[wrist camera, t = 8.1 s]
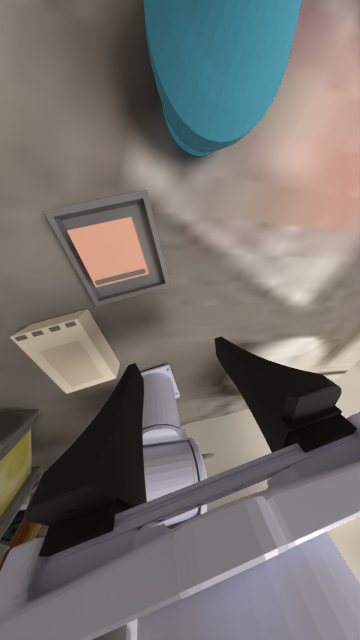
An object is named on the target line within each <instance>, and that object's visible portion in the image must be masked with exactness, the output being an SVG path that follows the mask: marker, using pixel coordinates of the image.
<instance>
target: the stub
mask: <svg viewBox="0 0 360 640" xmlns="http://www.w3.org/2000/svg"><path fill="white" fill-rule="evenodd" d="M67 232H68V234H69V236H70V238H71V240H72V242H73V244H74V246H75V248H76V250H77V252H78V254H79V256H80V258H81V259H82V261H83V263H84V265H85V267H86V269H87V271H88V273H89V275H90V277H91V279H92V281H93V283H94V285H95V287H99V286H103V285H107V284H111V283H115V282H119V281H123V280H127V279H131V278H135V277H139V276H143V275H147V274H149V269H148V265H147V262H146V259H145V256H144V252H143V249H142V246H141V242H140V239H139V236H138V232H137V229H136V226H135V224H134V222H133V220H132V218H131V217H127V218H123V219H118V220H113V221H109V222H104V223H99V224H95V225H90V226H86V227H81V228H76V229H72V230H67Z"/></svg>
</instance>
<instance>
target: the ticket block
mask: <svg viewBox="0 0 360 640" xmlns="http://www.w3.org/2000/svg"><path fill="white" fill-rule="evenodd" d="M10 338H11V339H12V340H13V341H14V342H15V343H16V344H17V345H18V346H19V347H20V348H21V349H22V350H23V351H24V352H25V353H26V354H27V355H28V356H29V357H30V358H31V359H32V360H33V361H34V362H35V363H36V364H37V365H38V366H39V367H40V368H41V369H42V370H43V371H44V372H45V373H46V374H47V375H48V376H49V377H50V378H51V379H52V380H53V381H54V382H55V383H56V384H57V385H58V386H59V387H60V388H61V389H62V390H63V391H64V392H65V393H66V394H68V393H71V392H74V391H77V390H81V389H84V388H87V387H90V386H93V385H96V384H100V383H103V382H106V381H109V380H112V379H116V377H117V373H118V369H119V365H120V363H119V361H118V359H117V358H116V356H115V354H114V353H113V351H112V349H111V348H110V346H109V344H108V343H107V341H106V339H105V337H104V336H103V334H102V332H101V331H100V329H99V327H98V326H97V324H96V322H95V320H94V319H93V317H92V315H91V314H90V312H89V310H88V309H86V310H82V311H78V312H74V313H71V314H67V315H63V316H60V317H56V318H52V319H48V320H45V321H41V322H37V323H34V324H31V325H29V326H27V327H26V328H24V329H22V330H21V331H19V332H18V333H16V334H14V335H13V336H11V337H10Z"/></svg>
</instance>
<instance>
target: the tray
mask: <svg viewBox="0 0 360 640" xmlns="http://www.w3.org/2000/svg"><path fill="white" fill-rule="evenodd" d="M43 212H44V213H45V215H46V217H47V219H48V221H49V222H50V224H51V226H52V228H53V230H54V231H55V233H56V235H57V237H58V239H59V241H60V242H61V244H62V246H63V248H64V250H65V251H66V253H67V255H68V257H69V259H70V260H71V262H72V264H73V266H74V268H75V269H76V271H77V273H78V275H79V277H80V278H81V280H82V282H83V284H84V286H85V288H86V289H87V291H88V293H89V295H90V297H91V298H92V300H93V302H94V304H95V306H96V307H97V306H101V305H104V304H108V303H112V302H115V301H119V300H123V299H127V298H130V297H134V296H138V295H141V294H145V293H149V292H153V291H156V290H160V289H164V288H167V287H171V285H170V281H169V277H168V273H167V269H166V265H165V261H164V257H163V253H162V249H161V245H160V241H159V237H158V233H157V229H156V225H155V221H154V217H153V213H152V209H151V205H150V201H149V197H148V193H147V190H143V191H138V192H133V193H128V194H124V195H119V196H114V197H109V198H104V199H99V200H95V201H90V202H85V203H80V204H75V205H70V206H66V207H61V208H56V209H51V210H46V211H43ZM127 217H131V218H132V220H133V222H134V224H135V226H136V229H137V232H138V236H139V239H140V242H141V246H142V249H143V252H144V256H145V259H146V262H147V265H148V269H149V274H147V275H143V276H139V277H135V278H131V279H127V280H123V281H119V282H115V283H111V284H107V285H103V286H99V287H95V285H94V283H93V281H92V279H91V277H90V275H89V273H88V271H87V269H86V267H85V265H84V263H83V261H82V259H81V258H80V256H79V254H78V252H77V250H76V248H75V246H74V244H73V242H72V240H71V238H70V236H69V234H68V232H67V230H72V229H76V228H81V227H86V226H90V225H95V224H99V223H104V222H109V221H113V220H118V219H123V218H127Z"/></svg>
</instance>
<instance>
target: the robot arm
mask: <svg viewBox="0 0 360 640" xmlns="http://www.w3.org/2000/svg"><path fill="white" fill-rule="evenodd" d="M215 346H216V355H217V357H218V359H219V361H220V363H221V365H222V366H223V368H224V369H225V371H226V372H227V374H228V375H229V377H230V378H231V379H232V381H233V382H234V384H235V385H236V387H237V388H238V390H239V391H240V393H241V395H242V396H243V398H244V400H245V402H246V403H247V405H248V407H249V409H250V411H251V412H252V414H253V416H254V418H255V420H256V422H257V424H258V426H259V428H260V429H261V431H262V433H263V435H264V437H265V439H266V441H267V443H268V445H269V447H270V449H271V451H272V453H270V454H268V455H265V456H263V457H260V458H258V459H255V460H252V461H250V462H247V463H245V464H242V465H240V466H237V467H235V468H232V469H230V470H227V471H225V472H222V473H220V474H217V475H214V476H212V477H209V478H207V475H206V470H205V465H204V461H203V457H202V454H201V451H200V449H199V447H198V445H197V444H196V443H195V441H194V440H193V439H192V438H187V435H186V430H185V429H181V425H180V420H179V414H178V409H177V403H176V398H178V397H180V394H179V391H178V388H177V386H176V383H175V380H174V377H173V374H172V371H171V369H170V366H169V365H168V364H166V365H163V366H160V367H156V368H153V369H150V370H147V371H144V372H141V373H140V371H139V369H138V367H137V365H136V363H134V364H131V365H128V367H127V369H126V371H125V372H124V374H123V376H122V378H121V380H120V381H119V383H118V385H117V386H116V388H115V390H114V391H113V393H112V395H111V396H110V398H109V399H108V401H107V402H106V404H105V405H104V407H103V408H102V409H101V411H100V412H99V413H98V415H97V416H96V417H95V419H94V420H93V421H92V422H91V423H90V425H89V426H88V427H87V428H86V430H85V431H84V432H83V433H82V434H81V435H80V437H79V438H78V439H77V440H76V441H75V442H74V443H73V444H72V445H71V446H70V447H69V449H68V450H67V451H66V452H65V453H64V454H63V455H62V456H61V457H60V458H59V459H58V460H57V461H56V462H55V463H54V464H53V465H52V466H51V467H50V468H49V469H48V470H47V471H46V472H45V473H44V474H43V475H42V477H41V479H40V482H39V484H38V486H37V488H36V490H35V492H34V494H33V496H32V498H31V500H30V503H29V505H28V507H27V509H26V511H25V514H24V517H25V519H26V520H27V521H30V522H33V523H37V524H42V525H47V526H49V528H48V531H47V534H46V537H40V538H37V539H34V540H31V541H29V542H26V543H24V544H21V545H18V546H16V547H13V548H12V549H11V550H10V552H9V554H8V556H7V558H6V560H5V562H4V565H3V567H2V569H1V571H0V640H92V639H94V638H97V637H99V636H101V635H103V634H105V633H108V632H110V631H112V630H114V629H116V628H118V627H121V626H123V625H125V624H127V633H126V640H360V584H359V582H358V580H357V579H356V577H355V575H354V574H353V572H352V571H351V569H350V568H349V566H348V564H347V563H346V561H345V560H344V558H343V557H342V555H341V553H340V552H339V550H338V549H337V547H336V545H335V544H334V542H333V541H332V539H331V538H330V537H329V535H328V534H327V531H329V530H331V529H333V528H335V527H337V526H339V525H341V524H343V523H346V522H348V521H350V520H352V519H354V518H356V517H359V516H360V412H359V413H357V414H354V415H352V416H350V417H348V418H347V419H346V418H344V417H343V416H342V415H341V413H342V411H341V410H340V409H339V408H337V407H336V406H335V404H336V402H337V401H338V399H339V397H340V395H341V388H340V387H339V386H338V385H336V384H335V383H334V382H332V381H331V380H329V379H328V378H326V377H325V376H323V375H322V374H317V373H312V372H307V371H303V370H299V369H295V368H291V367H287V366H284V365H281V364H278V363H275V362H272V361H269V360H266V359H264V358H261V357H259V356H256V355H254V354H252V353H250V352H248V351H246V350H244V349H242V348H240V347H238V346H236V345H234V344H233V343H231V342H229V341H228V340H226V339H224V338H222V337H218V338H215ZM271 477H272V478H271ZM269 478H270V479H269ZM266 479H269V480H268V481H267V484H268V486H269V487H268V488H267V489H266V490H264V491H261V492H258V493H254V494H251V495H249V496H246V497H243V498H240V499H237V500H235V501H232V502H229V503H227V504H224V505H222V506H219V507H217V508H215V509H212V510H210V511H208V512H207V504H208V503H210V502H213V501H215V500H217V499H220V498H222V497H225V496H227V495H230V494H232V493H235V492H237V491H239V490H242V489H244V488H247V487H249V486H251V485H254V484H256V483H259V482H261V481H264V480H266Z"/></svg>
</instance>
